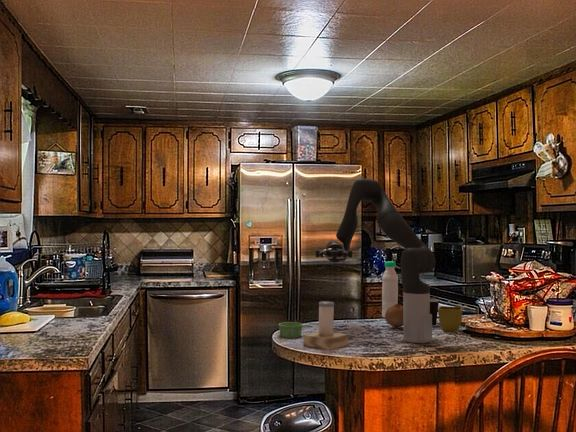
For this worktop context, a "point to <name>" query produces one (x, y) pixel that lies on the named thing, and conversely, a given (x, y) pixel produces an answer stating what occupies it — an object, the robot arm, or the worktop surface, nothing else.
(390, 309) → the onion
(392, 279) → the water bottle
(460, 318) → the flower pot
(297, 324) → the ramekin
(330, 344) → the base block
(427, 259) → the robot arm
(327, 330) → the canister
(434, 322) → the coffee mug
